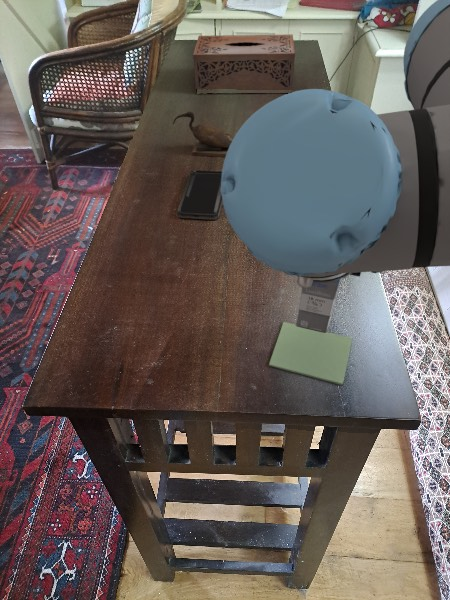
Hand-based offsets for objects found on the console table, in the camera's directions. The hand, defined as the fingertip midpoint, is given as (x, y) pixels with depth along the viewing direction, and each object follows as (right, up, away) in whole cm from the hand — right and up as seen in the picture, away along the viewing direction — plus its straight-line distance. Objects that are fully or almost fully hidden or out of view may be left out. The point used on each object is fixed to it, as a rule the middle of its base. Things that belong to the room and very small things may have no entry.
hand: (330, 256), depth 55 cm
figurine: (-17, +28, +47) cm, 58 cm away
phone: (-17, +15, +35) cm, 42 cm away
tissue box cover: (-7, +55, +72) cm, 91 cm away
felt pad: (-1, -13, +8) cm, 15 cm away
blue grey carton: (-1, -6, +1) cm, 6 cm away
